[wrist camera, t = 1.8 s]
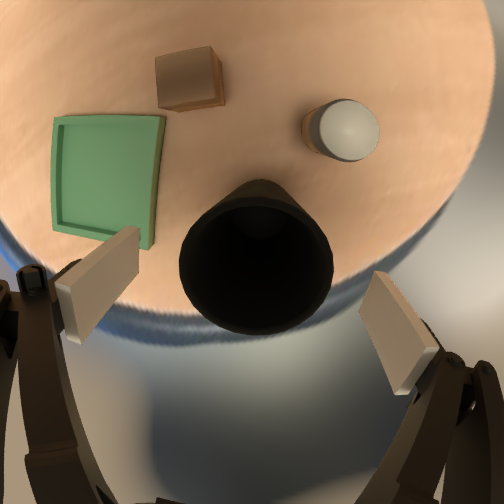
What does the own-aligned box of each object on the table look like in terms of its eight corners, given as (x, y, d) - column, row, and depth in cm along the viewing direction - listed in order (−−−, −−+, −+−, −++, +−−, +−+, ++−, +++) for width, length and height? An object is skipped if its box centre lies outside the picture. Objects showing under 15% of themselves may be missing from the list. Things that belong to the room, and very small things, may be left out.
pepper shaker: (305, 103, 21) (324, 89, 14) (351, 115, 21) (387, 109, 14) (297, 148, 22) (311, 154, 15) (341, 159, 22) (374, 171, 15)
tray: (63, 117, 21) (54, 117, 20) (166, 117, 22) (159, 116, 20) (61, 225, 26) (52, 230, 25) (154, 243, 26) (148, 250, 25)
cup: (259, 266, 27) (255, 356, 16) (199, 210, 25) (149, 273, 14) (321, 211, 24) (363, 276, 13) (260, 148, 23) (255, 161, 12)
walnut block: (175, 70, 20) (155, 57, 15) (221, 62, 20) (210, 46, 15) (179, 112, 21) (158, 107, 17) (225, 105, 21) (214, 98, 17)
